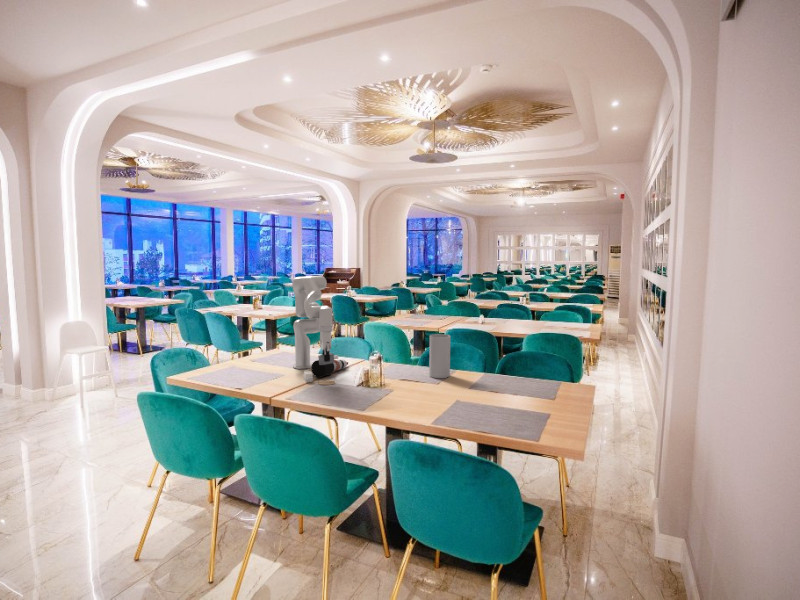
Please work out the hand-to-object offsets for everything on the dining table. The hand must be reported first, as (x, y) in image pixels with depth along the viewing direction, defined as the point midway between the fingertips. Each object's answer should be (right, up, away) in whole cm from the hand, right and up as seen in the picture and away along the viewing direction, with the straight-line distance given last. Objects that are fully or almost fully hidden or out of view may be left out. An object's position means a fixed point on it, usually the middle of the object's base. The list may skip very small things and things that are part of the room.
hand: (326, 360), depth 261 cm
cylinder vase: (+67, -12, +18) cm, 70 cm away
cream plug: (-11, -13, +5) cm, 18 cm away
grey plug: (+1, -2, +1) cm, 2 cm away
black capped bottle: (0, -11, +26) cm, 29 cm away
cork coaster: (0, -13, +1) cm, 13 cm away
